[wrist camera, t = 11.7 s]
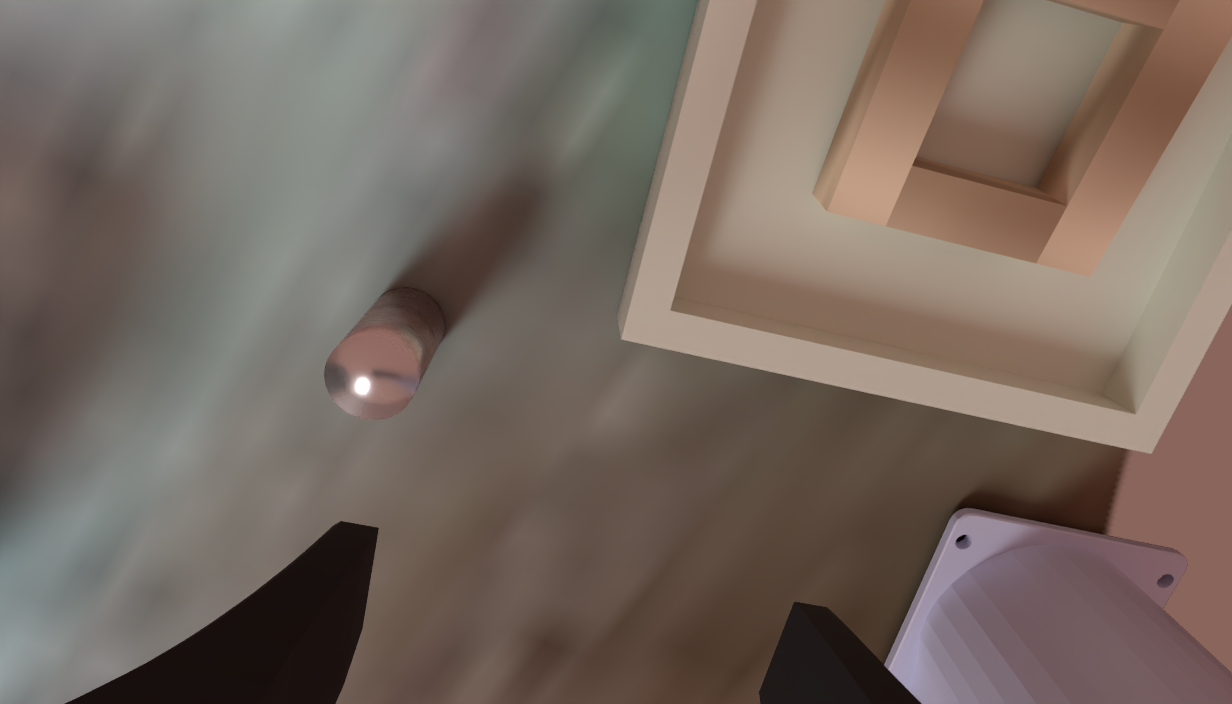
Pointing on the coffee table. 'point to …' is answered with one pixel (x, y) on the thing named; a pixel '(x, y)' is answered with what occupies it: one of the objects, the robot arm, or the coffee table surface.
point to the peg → (385, 355)
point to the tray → (919, 265)
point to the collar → (1080, 167)
